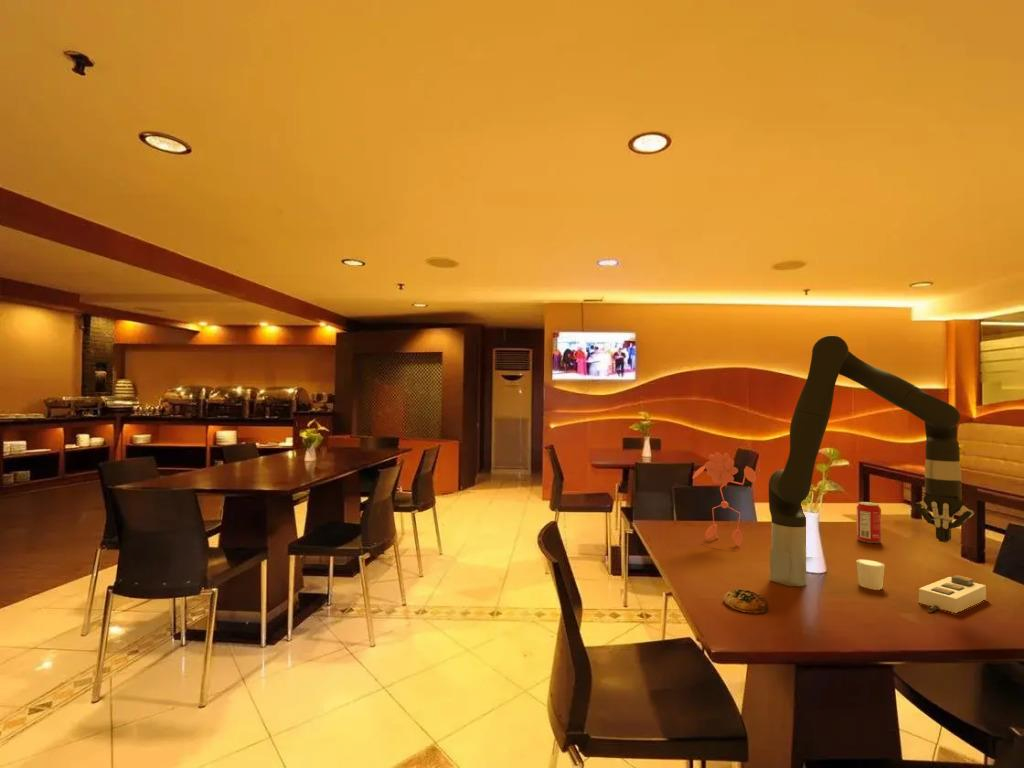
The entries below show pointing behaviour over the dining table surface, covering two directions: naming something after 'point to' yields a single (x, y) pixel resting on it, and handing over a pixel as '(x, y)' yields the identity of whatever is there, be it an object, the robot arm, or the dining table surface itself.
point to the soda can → (869, 522)
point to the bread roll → (746, 601)
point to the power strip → (952, 596)
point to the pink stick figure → (723, 471)
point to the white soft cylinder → (870, 573)
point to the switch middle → (953, 586)
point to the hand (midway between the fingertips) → (943, 541)
